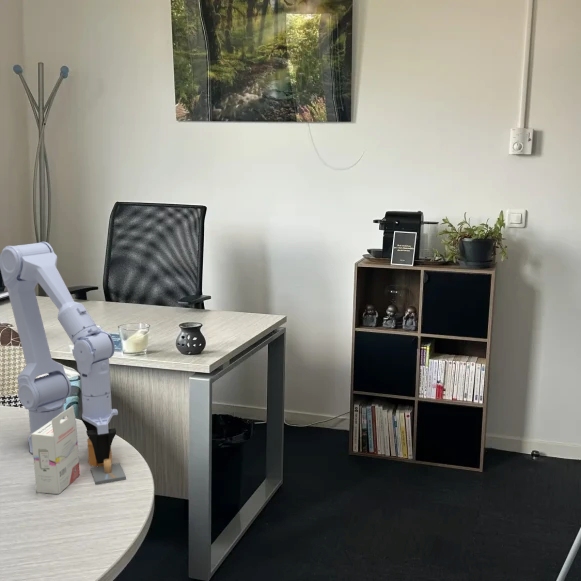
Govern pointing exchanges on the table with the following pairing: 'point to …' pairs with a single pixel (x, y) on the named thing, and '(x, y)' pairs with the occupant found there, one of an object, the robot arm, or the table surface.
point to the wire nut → (93, 455)
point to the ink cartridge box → (56, 453)
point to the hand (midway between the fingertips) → (99, 455)
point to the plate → (107, 472)
